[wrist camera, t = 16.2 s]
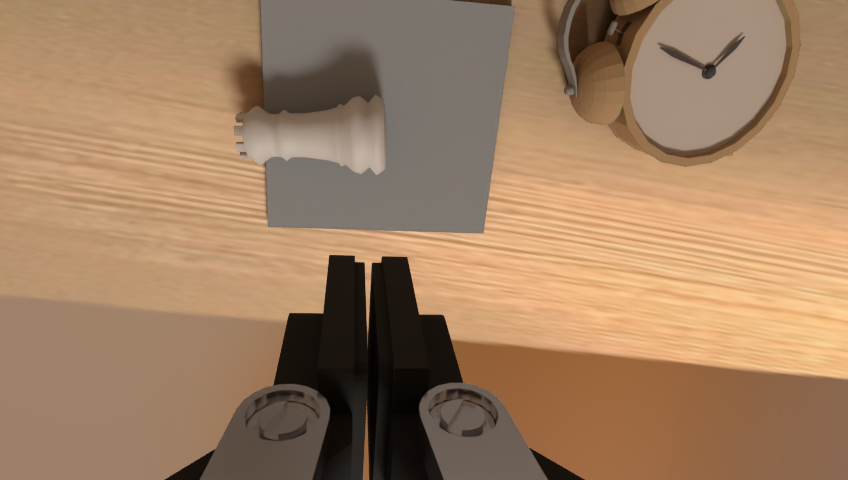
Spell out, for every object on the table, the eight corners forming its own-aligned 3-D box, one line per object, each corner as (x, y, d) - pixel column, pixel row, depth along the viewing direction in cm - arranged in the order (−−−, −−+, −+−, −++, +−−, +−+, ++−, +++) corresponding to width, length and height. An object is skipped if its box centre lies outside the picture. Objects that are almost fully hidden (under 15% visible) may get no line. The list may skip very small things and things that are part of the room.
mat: (511, 6, 31) (514, 6, 30) (481, 230, 36) (483, 233, 36) (261, -18, 29) (259, -18, 28) (269, 223, 34) (267, 226, 34)
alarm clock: (731, 190, 34) (548, 118, 28) (679, 165, 39) (509, 97, 33) (840, 14, 31) (656, -113, 25) (769, 7, 35) (596, -103, 29)
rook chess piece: (383, 77, 30) (237, 76, 29) (382, 133, 27) (222, 134, 27) (386, 136, 33) (256, 136, 33) (385, 191, 31) (244, 192, 30)
